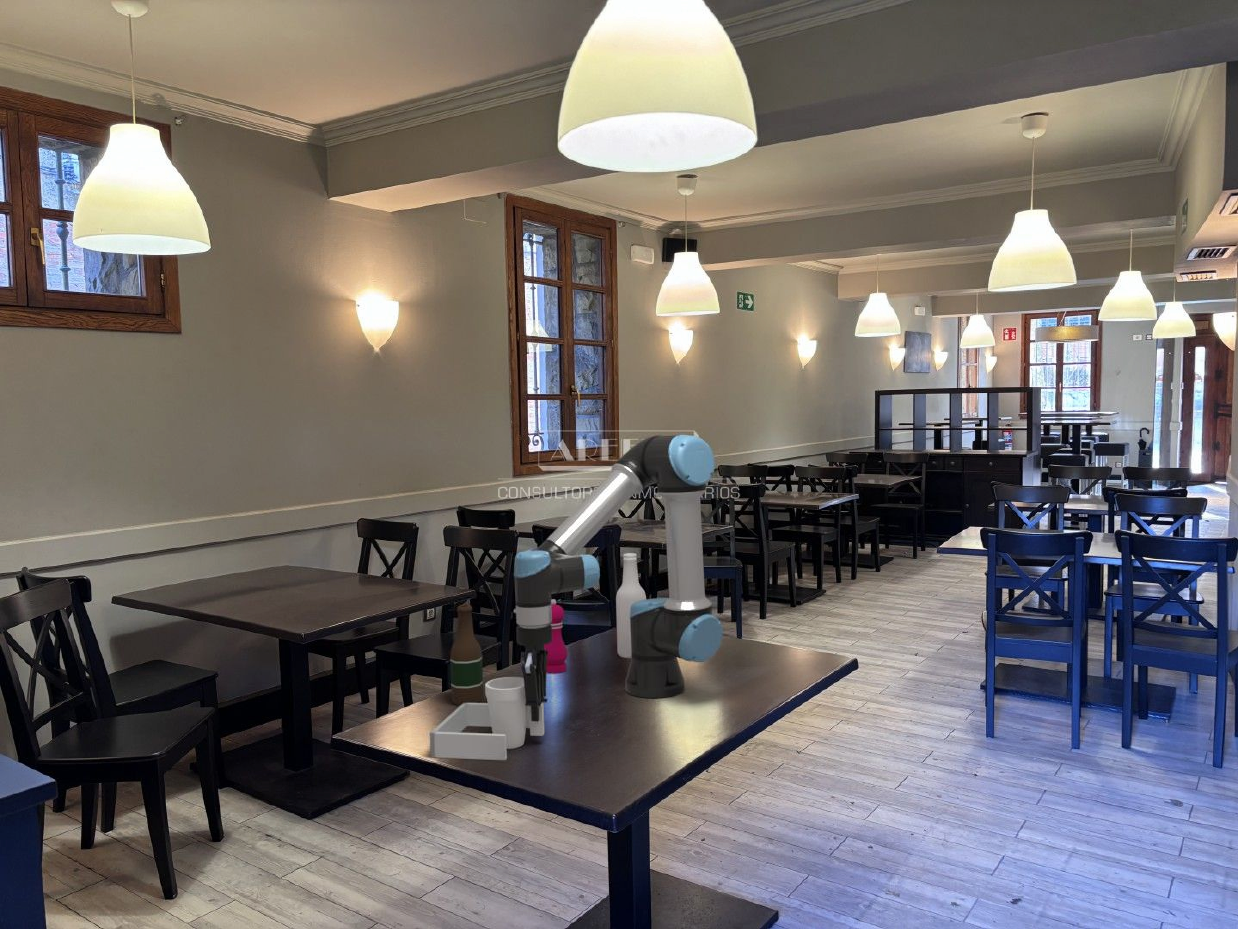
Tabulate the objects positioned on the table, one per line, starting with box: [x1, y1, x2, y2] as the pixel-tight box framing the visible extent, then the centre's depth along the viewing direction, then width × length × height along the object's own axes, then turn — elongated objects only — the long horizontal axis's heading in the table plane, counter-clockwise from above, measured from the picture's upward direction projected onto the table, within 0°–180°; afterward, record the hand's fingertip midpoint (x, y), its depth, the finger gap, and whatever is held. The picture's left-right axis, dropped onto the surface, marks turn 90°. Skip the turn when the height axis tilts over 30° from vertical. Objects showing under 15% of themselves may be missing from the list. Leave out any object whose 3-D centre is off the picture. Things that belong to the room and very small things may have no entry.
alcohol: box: [615, 552, 647, 659], centre depth 252 cm, size 9×9×30 cm
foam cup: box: [484, 676, 528, 750], centre depth 183 cm, size 10×9×13 cm
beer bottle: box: [449, 604, 484, 707], centre depth 212 cm, size 8×8×24 cm
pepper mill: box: [544, 598, 568, 674], centre depth 238 cm, size 7×7×20 cm
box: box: [429, 702, 530, 761], centre depth 185 cm, size 16×20×5 cm
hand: (537, 734), depth 182 cm, fingers closed
